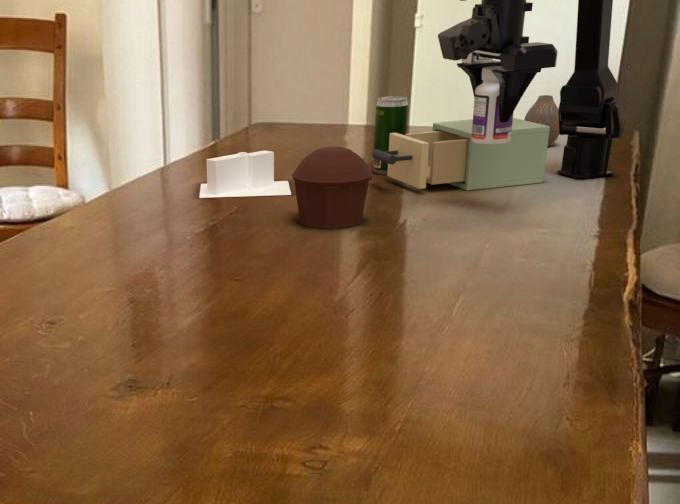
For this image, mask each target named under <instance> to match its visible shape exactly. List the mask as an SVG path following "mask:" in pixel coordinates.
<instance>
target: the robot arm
mask: <svg viewBox="0 0 680 504" xmlns="http://www.w3.org/2000/svg"><path fill="white" fill-rule="evenodd" d="M460 1H461V2H465V1H466V0H460ZM613 3H614V0H577V17H576V18H577V19H576V34H575V35H576V36H575V50H574V51H575V54H574V55H575V56H574V68H573V73H572V74H571V76H570V77H569V79H568V81H567V82H566V84H563V85H562V87H561V88H560V90H559V97H560V98H559V104H558V109H559V111H558V113H559V136H567V138H566V144H565V145H564V146H563V153H562V160H561V168H558V169H556V173H558V174H562V175H564V176H568V177H571V178H575V179H583V180H584V179H592V178H600V177H610V176H614V172H613V171H611V170H608V169H609V168H608V167H609V164H610V163H609V161H610V156H611V149H612V144H613V139H620V138H621V136H622V135H623V132H624V130H625V125H626V119H625V116H624V112H623V109H622V106H621V104H620V103H621V102H620V100H619V98H618V97H619V96H618V95H619V94H618V93H619V92H618V91H619V87H618V86H619V84H618V81H617V80H616V78H615V76H614V74H613V73H612V71H611V69H610V66H609V57H610V45H611V31H612V20H613V19H612V17H613ZM533 4H534V3H533V2H532V1H531V2H529V1H528V2H527V0H481V2H480V3H474V7H473V8H472V13H471V17H470V18H468V19H466V20H464V21H461V22H459V23H456V24H454V25H453V26H451V27H449V28H447V29H445V30H443V31H441V32H439V33H438V34H437V39H438V42H439V47H440V51H441V55H442V59H444V60H449V61H461V62H459V63H458V62H457V63H456V66H457V68H460V69H461V70H462V71H463V72H464V73H465V74H466V75H467V76H468V78H469V81H470V85H471V89H472V92H473V99H474V98H475V90H476V88H477V87H478V86H479V85H481V84H482V83H483V80H482V79H481V78H482V69H483V68H485V67H493V66H502V68H503V69H495V70H492V72H493V74H494V75H495V77H496V78H497V79H498V81H499V117H500V122H508V121H509V119H510V117H511V115H512V113H513V114H514V111H515V110H516V108H517V106H518V105H519V103H520V101H521V99H522V98H523V96H524V94H525V93H526V91H527V89H528V88H529V86H530V84H531V83H532V82H533V80H534V78H535V77H536V76H537V74H538V73H541V72H542V69H548V68H549V69H551V68H556V67H557V60H558V50H557V48H556V47H555V46H554V44H553V43H549V42H548V43H547V42H539V41H535V42H530V36H527V35H524V26H525V16H526V12H532V11H533Z"/></svg>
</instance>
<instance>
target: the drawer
mask: <svg viewBox="0 0 680 504" xmlns="http://www.w3.org/2000/svg"><path fill="white" fill-rule="evenodd" d="M468 145H469V138H467V137H463V136H460V135H456V134H453V133H449V132H446V131H433V130H431V131H422V132H410V133H407V134H406V135H402V134H398V133H390V137H389V151H385V152H383V151H380V150H377V149H376V150H374V149H373V151H372V153H371V157H372V158H373V159H374V158H375V159H378V160H380V161H383V162H386V163H388V173H387V175H386V176H387V177H388V178H391V179H394V180H396V181H399V182H401V183H403V184H406V185H409V186H411V187H413V188H416V189H419V190H421V189H426V188H427V184H428V185H429V184H430V185H433V186H434V185H440V184H442V185H443V184H448V183H452V182H462V181H465V178H466V167H467V156H468Z"/></svg>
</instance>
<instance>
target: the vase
mask: <svg viewBox="0 0 680 504" xmlns="http://www.w3.org/2000/svg"><path fill="white" fill-rule="evenodd" d="M558 111H559V106H557V104H556V102H555V100H554V96H553V95H550V94H549V95H548V94H541V95H539V96H538V97H537V99H536V101H535V102H534V103H533V104H532V105H531V107H530V108H529V109H528V110H527V112H526V114H525V116H524V119H523V120H525V121H529V122H533V123H537V124H542V125H546V126H550V129H549V138H548V146H547V148H548V147H551V146H553V144H555V142H556V141H557V140H558V138H559V136H560V135H559V113H558Z"/></svg>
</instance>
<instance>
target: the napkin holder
mask: <svg viewBox="0 0 680 504" xmlns="http://www.w3.org/2000/svg"><path fill="white" fill-rule="evenodd" d="M264 196H265V197H266V196H267V197H269V196H270V197H271V196H292V192H291V188H290V183H289V180H276V181H275V152H274V151H270V150H258V151H254V152H247V151H240V152H238V153H234V154H229V155H222V156H218V157H212V158H207V159H206V183H200V188H199V195H198V197H199V199H205V198H207V199H208V198H209V199H211V198H238V197H240V198H241V197H264Z"/></svg>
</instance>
